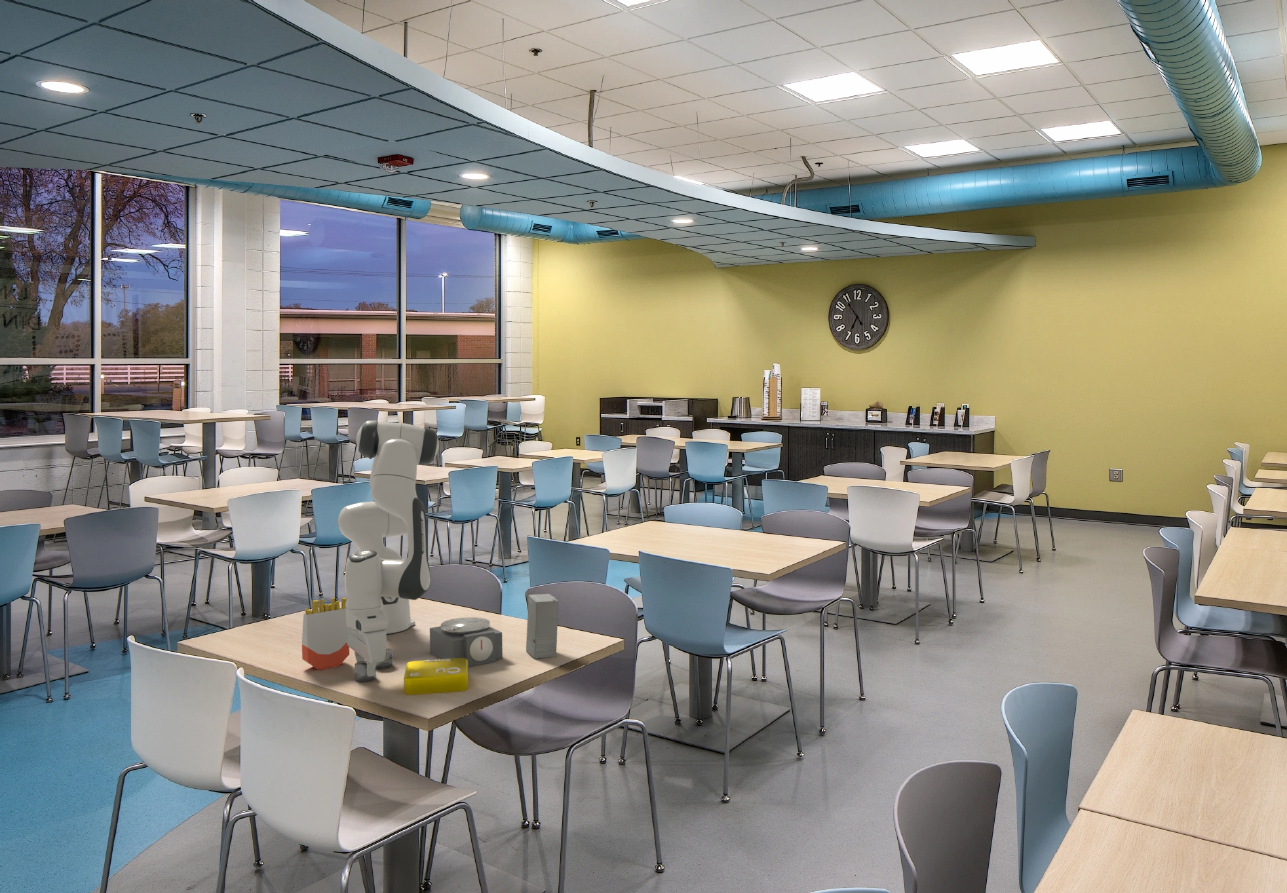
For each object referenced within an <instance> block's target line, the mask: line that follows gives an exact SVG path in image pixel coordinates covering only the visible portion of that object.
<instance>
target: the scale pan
mask: <svg viewBox="0 0 1287 893" xmlns="http://www.w3.org/2000/svg"><path fill="white" fill-rule="evenodd" d="M440 626H441V630H442V631H443V632H446V633H451V634H470V633H477V632H481V631H485V630H487V629H489V628H490V627H491V621H490V620H489V619H487V618H485V617H484V618H482V617H473V616H471V617H470V616H469V617H457V618H456V617H455V618H451V619H447V620H445V621H442V622H441V623H440Z"/></svg>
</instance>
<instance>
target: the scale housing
mask: <svg viewBox="0 0 1287 893" xmlns="http://www.w3.org/2000/svg"><path fill="white" fill-rule="evenodd" d="M429 652H430V653H429V654H431V655H433V656H434V657H435V658H437V659H452V658H466V659H467V660H468V668H470V667H475V666H480V665H485V664H490V663H491V664H492V663H495V662H496V660H499V659H503V654H504V653H503V632H502V631H501V630H498V629H496V628H494V627H491V626H490V628H489V629H487V630H485V631H481V632H477V633H470V634H451V633H446V632H443V631H442V630H441V625H440V626H434V627H430V628H429Z"/></svg>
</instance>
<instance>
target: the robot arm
mask: <svg viewBox="0 0 1287 893" xmlns="http://www.w3.org/2000/svg"><path fill="white" fill-rule="evenodd" d="M355 440H356V447H357V449H358V452H359V454H360V455H361V456H363V457H365V458H367V459H369V460H372V459H373V460H372V466H371V471H370V477H369V486H370V489H371V499H372V500H373V501H361V502H357V503H354V504H353V503H352V504H348V505H346V506H344V507H342V509H341V511H340V512H339V514H338V518H337V526H338V528H339V531H340V532H341V534H342V535H343V536H344V537H345V538H346V539H347V540H349V541H351V542H352V543H353V544H354V545H355V547H357V549H358V550H359V551H354V552H353V553H351V554H349V556H347V559H346V563H345V568H344V569H345V571H344V572H345V573H344V591H345V594H346V598H347V601H346V605H345V610H346V626H347V630H346V641H347V645H348V646H349V649H351V650H352V651H354V656H355V661H356V663H357V662H360V661H366V663H367V668H366V675H367V676H369V677H370V676H374V675H375V666H376V663H377V662H382V661H384V659H385V657H386V649H387V634H388V635H389V634H395V633H399V632H403V631H406V630H407V629H409V628H410V627H412V626H415V625H416V621H415V620H414V619H411V607H410V600H411V601H416V600H418V599H420V598H421V597H422V596H424V595H425V594H426V593H427V592H428V590H429V588H430V586H431V571H430V570H431V569H430V564H429V554H428V553H429V552H428V548H429V547H428V530H427V529H428V526H427V514H426V509H425V508H426V507H425V504H424V501H422V499H420V498H418V495H417V490H416V482H417V472H418V465H420V466H421V465H429V464H431V463H432V462H434V460H435V458H436V457H437V455H438V452H439V449H440V440H439V437H438V433H436V431H435V430H434V429H431V428H429V427H425V426H424V427H421V426H419V425H413V424H409V423H404V422H400V423H399V422H391V421H378V420H374V419H373V420H366V421H364V422H363V423H362V425H361V426H360V428H359V429H358V431H357V434H356V439H355ZM406 535H407V552H408V553H407V558H406V559H403V558H402V556H401V553H399V552H398V551H397V550H395V549H393V548H390V547H388V546H385V544H384V538H389V537H399V536H406Z"/></svg>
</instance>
